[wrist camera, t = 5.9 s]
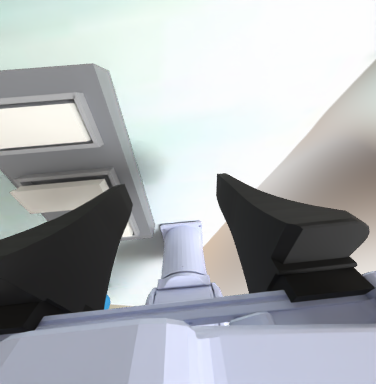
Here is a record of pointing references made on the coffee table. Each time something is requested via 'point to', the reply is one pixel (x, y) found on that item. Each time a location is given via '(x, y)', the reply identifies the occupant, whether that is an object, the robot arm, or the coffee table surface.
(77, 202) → the middle key
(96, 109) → the switch panel
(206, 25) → the coffee table surface
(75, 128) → the key
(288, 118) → the coffee table surface
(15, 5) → the coffee table surface
